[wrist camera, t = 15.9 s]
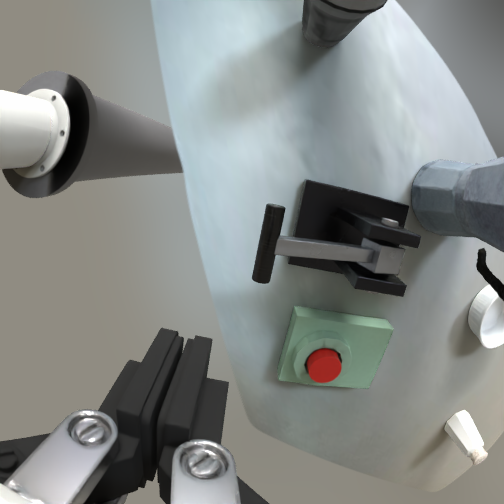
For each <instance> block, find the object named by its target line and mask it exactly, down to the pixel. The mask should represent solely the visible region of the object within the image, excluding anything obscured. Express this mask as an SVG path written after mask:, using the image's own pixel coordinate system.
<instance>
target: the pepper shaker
mask: <svg viewBox="0 0 504 504" xmlns="http://www.w3.org/2000/svg"><path fill="white" fill-rule="evenodd" d="M444 429H445V431H446V432H447V433H448V434H449V436H450V437H451V438H452V439H453V441H454V442H455V443H456V444H457V446H458V447H459V448H460V449H461V451H462V452H463V453H464V454H465V456H467V457H470V458H471V460H472V461H473V464H474V465H478V464H480V463H481V462H483V461H484V460H485V459H486V457H487V455H488V454H487V453H486V452H485V450H484V449H483V445H484V443H483V440H482V438H481V436H480V434H479V432H478V430H477V428H476V426H475V424H474V422H473V420H472V418H471V417H470V415H469V413H468V412H467V411H465V410H462V411H460V412H457V413H455V414H454V415H453V416H452V417H451V418H450V419H449V420H447V422H446V425H445V428H444Z"/></svg>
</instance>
